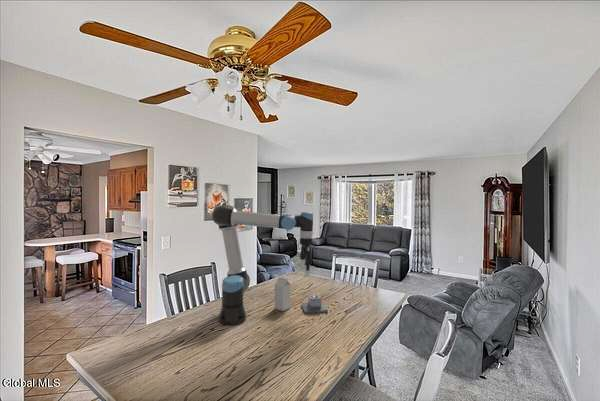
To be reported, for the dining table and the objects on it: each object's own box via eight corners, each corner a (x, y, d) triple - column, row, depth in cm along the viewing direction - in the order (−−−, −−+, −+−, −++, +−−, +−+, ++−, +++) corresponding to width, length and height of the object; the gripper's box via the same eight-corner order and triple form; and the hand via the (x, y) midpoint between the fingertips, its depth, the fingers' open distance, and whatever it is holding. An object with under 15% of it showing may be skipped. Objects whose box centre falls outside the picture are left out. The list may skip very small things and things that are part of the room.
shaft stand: (305, 313, 171) (305, 300, 171) (301, 305, 184) (301, 292, 184) (327, 312, 173) (328, 299, 173) (322, 304, 187) (322, 291, 187)
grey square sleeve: (309, 308, 175) (310, 298, 175) (307, 304, 182) (307, 295, 182) (321, 308, 176) (321, 298, 176) (318, 304, 183) (318, 294, 183)
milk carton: (283, 311, 174) (283, 280, 174) (274, 308, 178) (274, 278, 178) (290, 308, 179) (290, 277, 179) (281, 305, 184) (282, 275, 184)
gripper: (317, 240, 161) (315, 278, 161) (307, 235, 186) (306, 267, 186) (304, 240, 160) (302, 278, 160) (296, 234, 184) (294, 267, 184)
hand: (304, 272), depth 173 cm, fingers open, 13 cm apart
